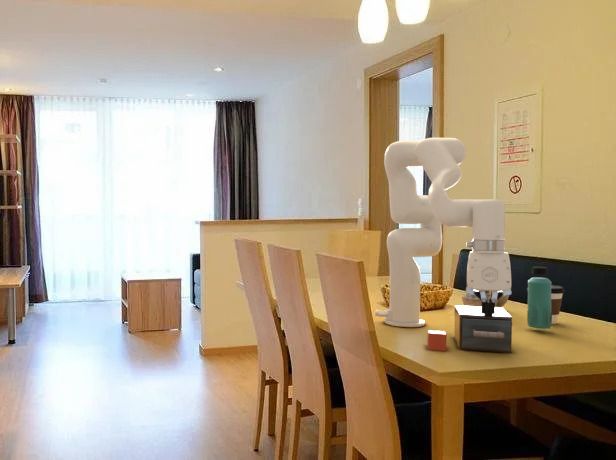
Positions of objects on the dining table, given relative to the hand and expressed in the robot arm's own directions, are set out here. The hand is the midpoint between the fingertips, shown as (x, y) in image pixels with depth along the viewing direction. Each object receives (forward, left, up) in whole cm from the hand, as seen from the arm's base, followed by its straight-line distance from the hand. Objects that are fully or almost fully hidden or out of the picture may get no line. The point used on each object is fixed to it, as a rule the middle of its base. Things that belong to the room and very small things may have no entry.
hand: (488, 316), depth 151 cm
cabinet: (0, +11, -10) cm, 15 cm away
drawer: (0, +6, -9) cm, 11 cm away
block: (-12, +3, -10) cm, 16 cm away
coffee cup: (+24, +51, -10) cm, 57 cm away
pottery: (+8, +63, -10) cm, 64 cm away
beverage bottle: (+19, +35, -10) cm, 41 cm away
